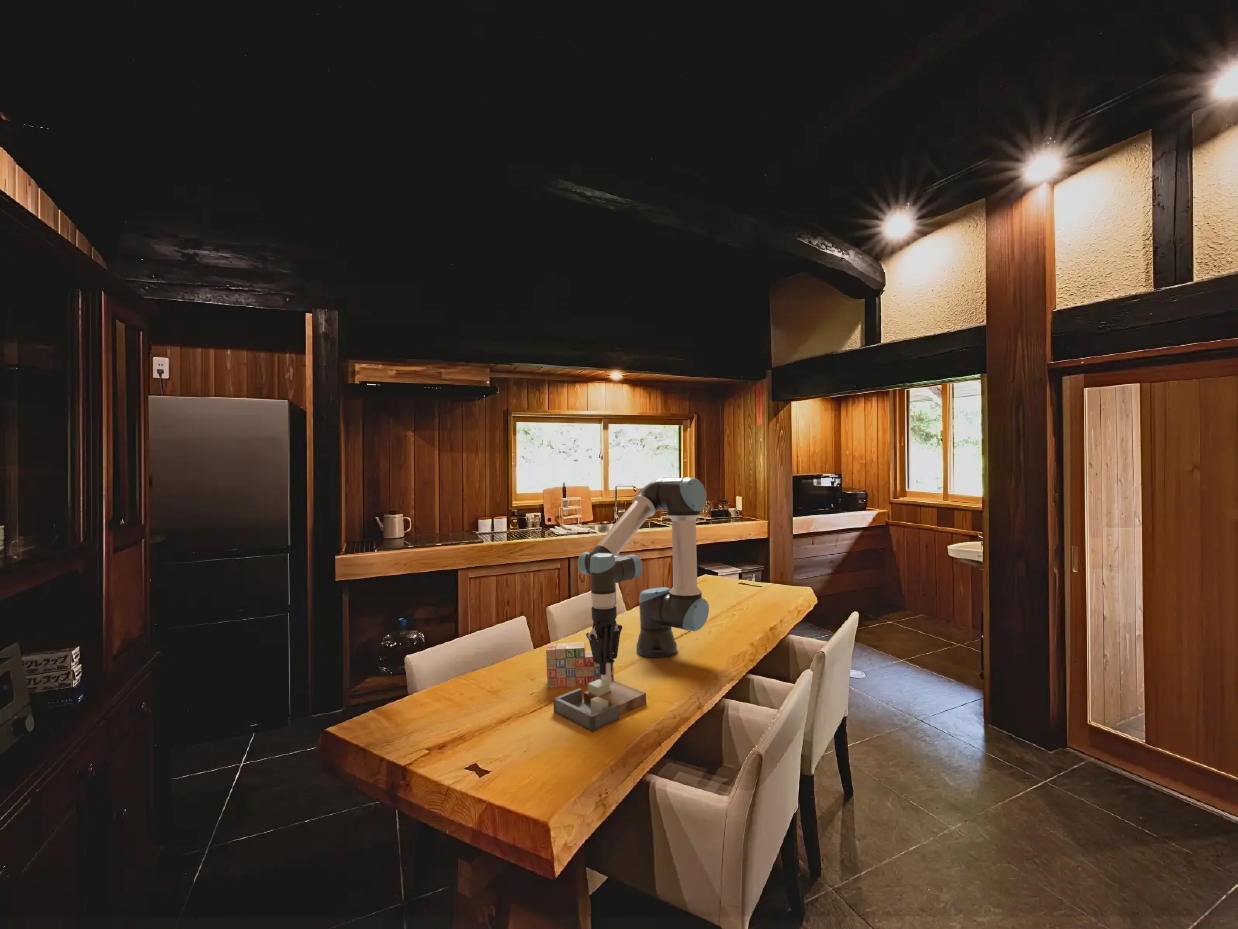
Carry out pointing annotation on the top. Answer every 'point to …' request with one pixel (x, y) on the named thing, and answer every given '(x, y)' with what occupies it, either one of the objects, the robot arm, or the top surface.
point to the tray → (584, 711)
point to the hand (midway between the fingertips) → (606, 684)
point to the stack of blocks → (571, 665)
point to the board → (620, 697)
